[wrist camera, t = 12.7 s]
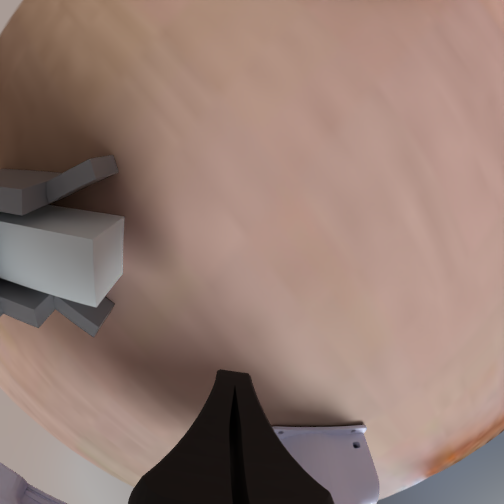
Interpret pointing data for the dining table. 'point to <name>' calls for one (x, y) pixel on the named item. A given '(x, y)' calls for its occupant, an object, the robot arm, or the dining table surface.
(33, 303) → the endcap
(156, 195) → the dining table surface
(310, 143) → the dining table surface
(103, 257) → the white rectangular block
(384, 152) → the dining table surface
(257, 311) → the dining table surface
